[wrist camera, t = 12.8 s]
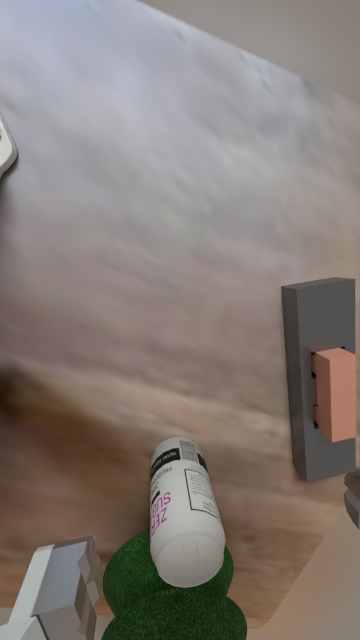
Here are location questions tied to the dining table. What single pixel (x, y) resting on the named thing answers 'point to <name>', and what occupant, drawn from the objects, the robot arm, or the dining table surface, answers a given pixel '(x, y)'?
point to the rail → (300, 341)
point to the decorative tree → (167, 600)
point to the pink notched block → (335, 393)
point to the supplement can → (183, 515)
